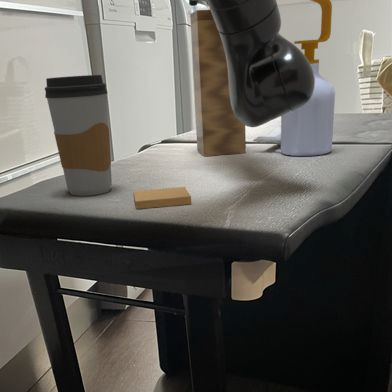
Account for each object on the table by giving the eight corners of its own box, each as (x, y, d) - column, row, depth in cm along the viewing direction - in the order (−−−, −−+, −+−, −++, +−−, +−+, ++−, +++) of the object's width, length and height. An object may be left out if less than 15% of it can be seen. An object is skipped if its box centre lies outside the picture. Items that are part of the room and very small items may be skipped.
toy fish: (311, 138, 114) (312, 118, 112) (279, 152, 101) (279, 129, 99) (287, 138, 117) (287, 118, 115) (252, 152, 103) (251, 129, 101)
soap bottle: (275, 150, 103) (277, -4, 91) (322, 147, 104) (330, -7, 92) (287, 158, 95) (290, -10, 83) (338, 154, 96) (349, -14, 84)
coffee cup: (90, 183, 85) (75, 75, 78) (130, 187, 81) (118, 73, 74) (49, 194, 79) (28, 79, 72) (90, 200, 75) (72, 77, 68)
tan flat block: (136, 209, 69) (135, 201, 68) (134, 198, 74) (133, 191, 73) (191, 204, 69) (190, 196, 69) (185, 194, 75) (184, 186, 74)
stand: (203, 156, 102) (196, 10, 91) (197, 150, 109) (190, 13, 98) (245, 153, 103) (243, 7, 92) (236, 147, 110) (233, 11, 99)
